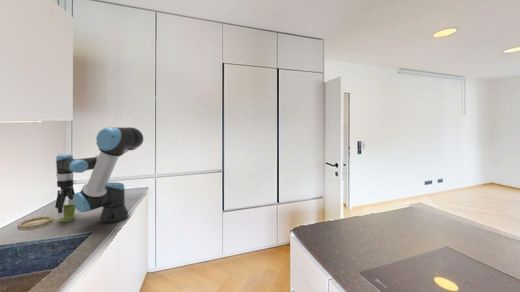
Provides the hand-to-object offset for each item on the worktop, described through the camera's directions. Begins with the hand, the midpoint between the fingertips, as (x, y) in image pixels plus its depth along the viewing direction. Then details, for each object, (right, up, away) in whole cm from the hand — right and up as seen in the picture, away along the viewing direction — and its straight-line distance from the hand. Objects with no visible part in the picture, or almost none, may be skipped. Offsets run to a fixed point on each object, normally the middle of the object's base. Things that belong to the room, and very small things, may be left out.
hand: (66, 213), depth 137 cm
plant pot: (0, -5, 0) cm, 5 cm away
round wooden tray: (-12, -5, -6) cm, 15 cm away
